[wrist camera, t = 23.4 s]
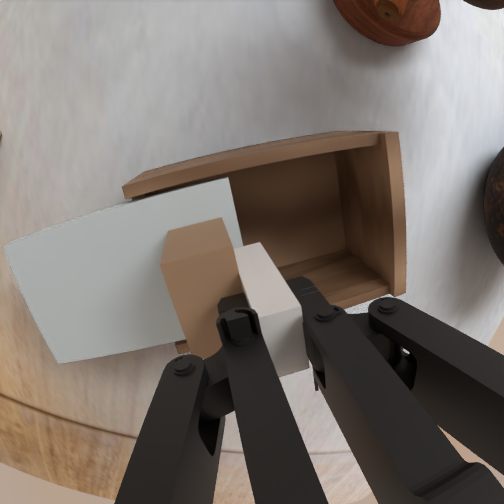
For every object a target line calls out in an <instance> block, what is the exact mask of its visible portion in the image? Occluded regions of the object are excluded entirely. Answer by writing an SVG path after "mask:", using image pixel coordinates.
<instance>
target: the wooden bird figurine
mask: <svg viewBox="0 0 504 504" xmlns="http://www.w3.org/2000/svg"><path fill="white" fill-rule="evenodd" d="M333 1H334V3H335V5H336V7H337V8H338V10H339V12H340V13H341V14H342V16H343V17H344V18H345V19H346V20H347V22H348V23H349V24H350V25H351V26H352V27H354V28H355V29H356V30H357V31H358V32H360V33H361V34H362V35H364V36H366V37H367V38H369V39H371V40H373V41H375V42H377V43H380V44H384V45H388V46H402V45H406V44H409V43H412V42H415V41H419V40H422V39H425V38H428V37H429V36H431V35H432V34H433V33H434V32H435V31H436V30H437V28H438V26H439V23H440V17H441V10H440V3H439V0H333ZM463 1H465V2H467V3H469V4H471V5H473V6H476V7H479V8H482V9H488V10H497V9H502V8H504V0H463Z"/></svg>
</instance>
